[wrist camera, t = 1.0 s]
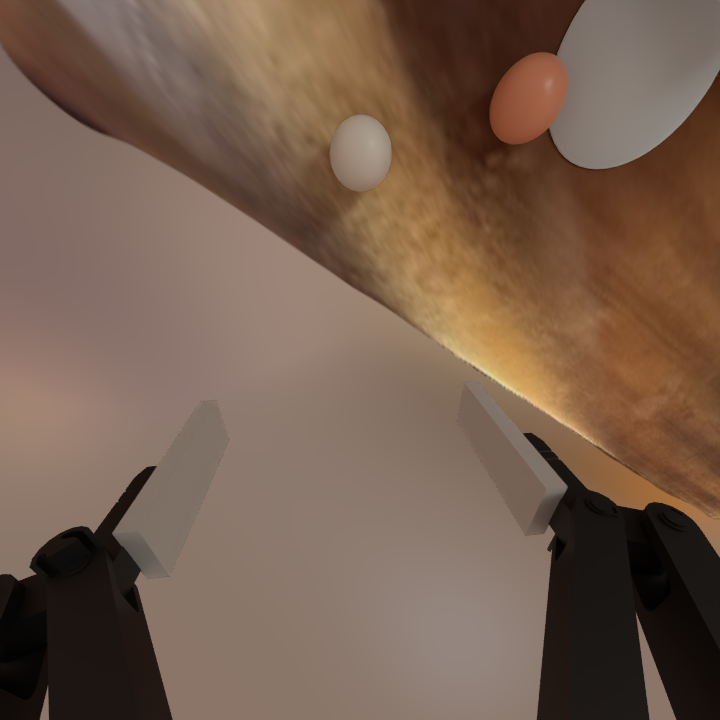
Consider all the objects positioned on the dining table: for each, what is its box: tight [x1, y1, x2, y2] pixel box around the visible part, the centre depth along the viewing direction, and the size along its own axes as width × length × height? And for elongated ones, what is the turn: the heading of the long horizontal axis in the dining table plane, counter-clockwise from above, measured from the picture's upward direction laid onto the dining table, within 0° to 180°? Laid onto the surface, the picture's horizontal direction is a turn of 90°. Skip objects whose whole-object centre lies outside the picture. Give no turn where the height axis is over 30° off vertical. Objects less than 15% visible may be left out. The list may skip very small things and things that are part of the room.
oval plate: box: [549, 0, 720, 169], centre depth 24 cm, size 14×14×1 cm
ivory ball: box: [330, 115, 392, 192], centre depth 25 cm, size 6×6×6 cm
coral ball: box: [490, 52, 569, 145], centre depth 23 cm, size 6×6×6 cm
